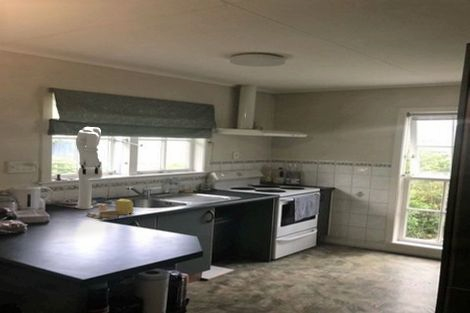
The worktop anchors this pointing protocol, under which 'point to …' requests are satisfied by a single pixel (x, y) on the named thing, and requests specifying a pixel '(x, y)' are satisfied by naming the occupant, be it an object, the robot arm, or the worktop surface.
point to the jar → (102, 208)
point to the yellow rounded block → (124, 206)
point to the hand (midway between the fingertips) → (90, 174)
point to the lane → (104, 214)
